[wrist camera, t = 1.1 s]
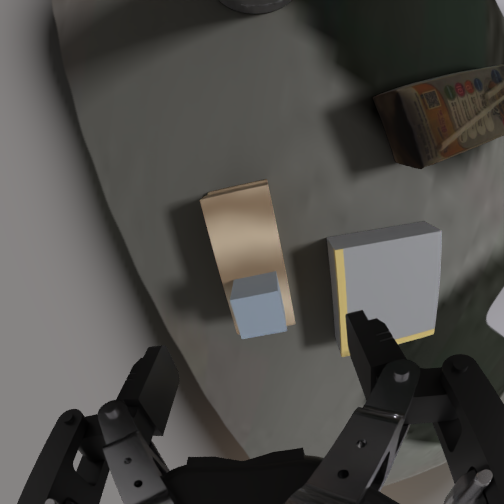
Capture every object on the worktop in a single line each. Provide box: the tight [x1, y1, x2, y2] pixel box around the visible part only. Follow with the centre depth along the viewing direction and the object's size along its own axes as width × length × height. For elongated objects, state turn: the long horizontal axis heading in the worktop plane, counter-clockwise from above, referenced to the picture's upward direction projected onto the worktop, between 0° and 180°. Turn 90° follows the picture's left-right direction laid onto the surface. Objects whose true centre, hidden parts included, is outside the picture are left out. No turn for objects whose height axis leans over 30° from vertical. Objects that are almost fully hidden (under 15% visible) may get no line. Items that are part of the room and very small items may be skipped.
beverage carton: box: [373, 64, 504, 169], centre depth 23 cm, size 8×19×7 cm, turn 115°
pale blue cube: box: [230, 271, 287, 339], centre depth 27 cm, size 4×4×4 cm
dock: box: [327, 221, 442, 357], centre depth 31 cm, size 13×12×4 cm
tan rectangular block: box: [200, 179, 295, 334], centre depth 30 cm, size 14×6×5 cm, turn 13°
